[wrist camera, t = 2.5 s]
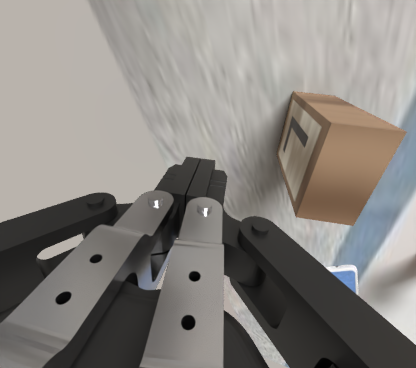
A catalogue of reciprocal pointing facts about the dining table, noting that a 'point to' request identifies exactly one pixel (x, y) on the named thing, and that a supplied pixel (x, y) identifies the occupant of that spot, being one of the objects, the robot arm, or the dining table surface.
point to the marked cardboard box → (333, 156)
